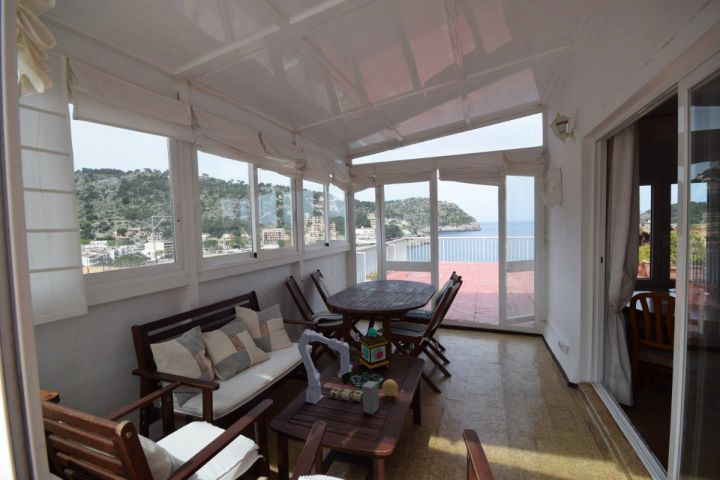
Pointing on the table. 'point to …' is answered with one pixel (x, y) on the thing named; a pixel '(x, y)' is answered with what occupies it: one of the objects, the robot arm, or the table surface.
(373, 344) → the decorative lantern
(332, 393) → the marked block
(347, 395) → the plain block
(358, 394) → the marked block
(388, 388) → the stress ball
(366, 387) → the skincare box
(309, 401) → the robot arm
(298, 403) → the table surface
